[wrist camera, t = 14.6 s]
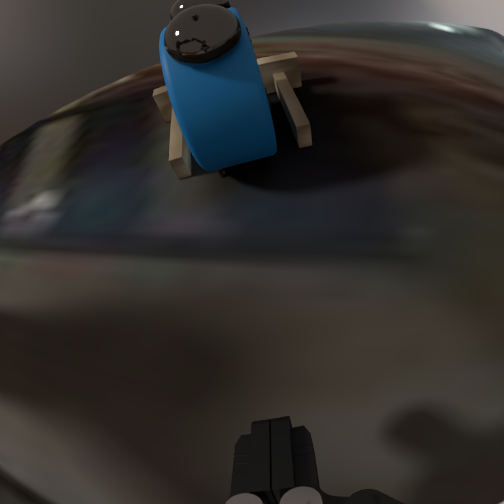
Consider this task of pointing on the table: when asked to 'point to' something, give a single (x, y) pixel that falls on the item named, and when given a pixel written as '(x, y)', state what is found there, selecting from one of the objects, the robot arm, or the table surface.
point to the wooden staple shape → (275, 80)
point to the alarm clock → (216, 85)
